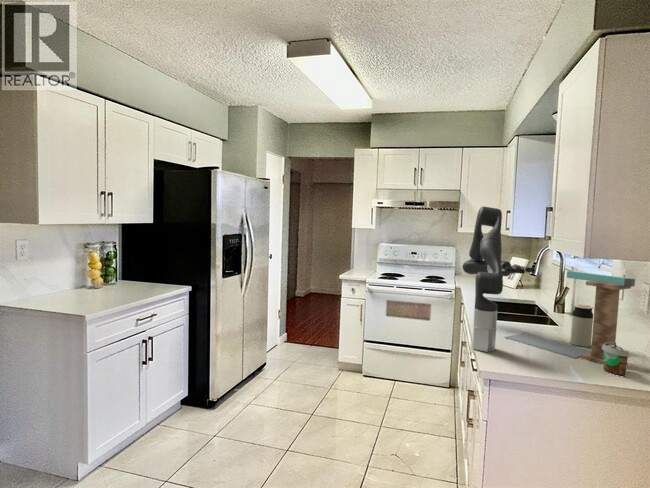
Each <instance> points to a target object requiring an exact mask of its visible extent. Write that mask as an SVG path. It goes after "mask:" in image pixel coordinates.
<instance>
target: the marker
mask: <svg viewBox="0 0 650 488" xmlns="http://www.w3.org/2000/svg"><path fill="white" fill-rule="evenodd" d="M566 278H568V279H573V280H583V281H595V282H602V283H609V284H616V285H624V286H631V288H632V287H635V285H636V278H632V277H624V276H623V277H622V276H614V275H605V274H598V273H597V274H596V273H588V272H582V271H573V270H567V271H566Z"/></svg>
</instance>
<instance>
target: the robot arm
mask: <svg viewBox="0 0 650 488" xmlns="http://www.w3.org/2000/svg"><path fill="white" fill-rule="evenodd" d="M502 219H503V213H502V210H501V209H499V208H495V207H490V206H480V208H479V209H478V212H477V214H476V219H475V225H474V232H473V238H472V242H471V245H470V249H469V251H468V252H469V253H468V255H469V257H470V259H468V260H466V261H465V262H463V264H462V270H463V272H464V273H467V274H468V275H475V299H474V300H475V301H474V310H473V311H474V312H473V313H474V314H473V325H472V326H473V327H472V329H473V330H472V345H471V347H472V349H473V350H477V351H482V352H485V353H489V352H495V350H496V337H497V323H498V310H499V309H498V308H499V307H498V303H496V302H494V301H492V300H490V299H488V298H486V297H485V296H484V294H486V295H500V294H501V293H502V292H503V287H504V279H503V277H509V276H510V275H513V274H514V275H515V274H523V275H524V274H526V273H530V274H533V273H534V274H535V273H536V268H535V267H529V266H523V265H516V264H515V265H512V264H511V263H510V261H505V260H502V235H501V234H502V232H501V231H502ZM482 226H487V227H491V230H490V231H488V232H487V233H486V234H485V235H484V233H483V231H482Z"/></svg>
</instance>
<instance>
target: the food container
mask: <svg viewBox="0 0 650 488" xmlns="http://www.w3.org/2000/svg"><path fill="white" fill-rule="evenodd" d="M602 350H604V365H603V370H605V371H604V372H605V373H608V374H610V373H611V375H613V374H614V375H613V376H616V375H618V376H617V377H621V376H623V378H626V375H627V372H626V371H627V365H628V358H629V355H630V354H629V351H628V350H625V349H623V348H622V347H621V346H618V345H617V342H616V341H615V342H605V343H604V344H603V346H602Z"/></svg>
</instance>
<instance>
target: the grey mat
mask: <svg viewBox="0 0 650 488" xmlns="http://www.w3.org/2000/svg"><path fill="white" fill-rule="evenodd" d="M504 338H505V339H507V340H511V341H514V342H518V343H522V344H526V345H528V346H532V347H535V348H539V349H540V350H541V349H542V350H546V351H548V352H550V353H551V352H552V353H554V354H558V355H562V356H565V357H568V358H572V359H579V358H581V355H582V354H586V353H589V352H591V350H590V349H589V350H588V349H585V348H582V347H579V346H575V345H574V346H573V345H570V344H568V343H562V342H560V341H556V340H552V339H548V338H544V337H541V336H537V335H534V334H530V333H527V332H523V333H517V334H513V335H509V336H504Z"/></svg>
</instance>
